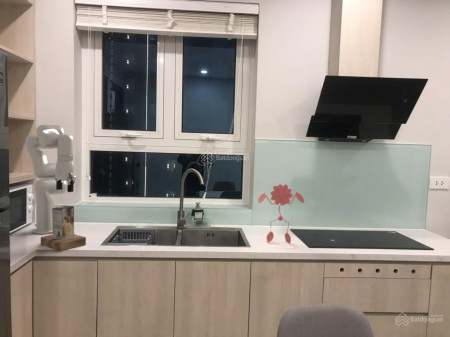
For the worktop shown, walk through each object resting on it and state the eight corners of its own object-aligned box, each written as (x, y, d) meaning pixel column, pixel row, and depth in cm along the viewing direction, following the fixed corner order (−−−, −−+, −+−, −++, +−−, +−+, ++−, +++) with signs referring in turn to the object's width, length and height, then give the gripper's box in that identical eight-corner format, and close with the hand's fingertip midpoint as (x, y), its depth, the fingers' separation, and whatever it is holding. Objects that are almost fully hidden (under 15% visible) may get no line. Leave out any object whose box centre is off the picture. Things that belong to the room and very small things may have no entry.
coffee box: (64, 234, 187) (64, 205, 186) (74, 235, 185) (74, 206, 184) (51, 238, 178) (51, 208, 177) (62, 239, 176) (62, 209, 175)
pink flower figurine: (256, 239, 206) (259, 181, 202) (299, 242, 203) (303, 183, 200) (256, 247, 190) (259, 185, 187) (303, 250, 188) (307, 187, 185)
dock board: (40, 244, 180) (40, 237, 180) (65, 238, 192) (65, 231, 192) (61, 251, 171) (61, 243, 171) (85, 244, 183) (85, 237, 183)
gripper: (48, 157, 182) (48, 189, 183) (68, 159, 173) (68, 193, 174) (62, 157, 188) (61, 188, 189) (81, 159, 179) (81, 192, 180)
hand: (64, 190), depth 182 cm, fingers open, 9 cm apart
